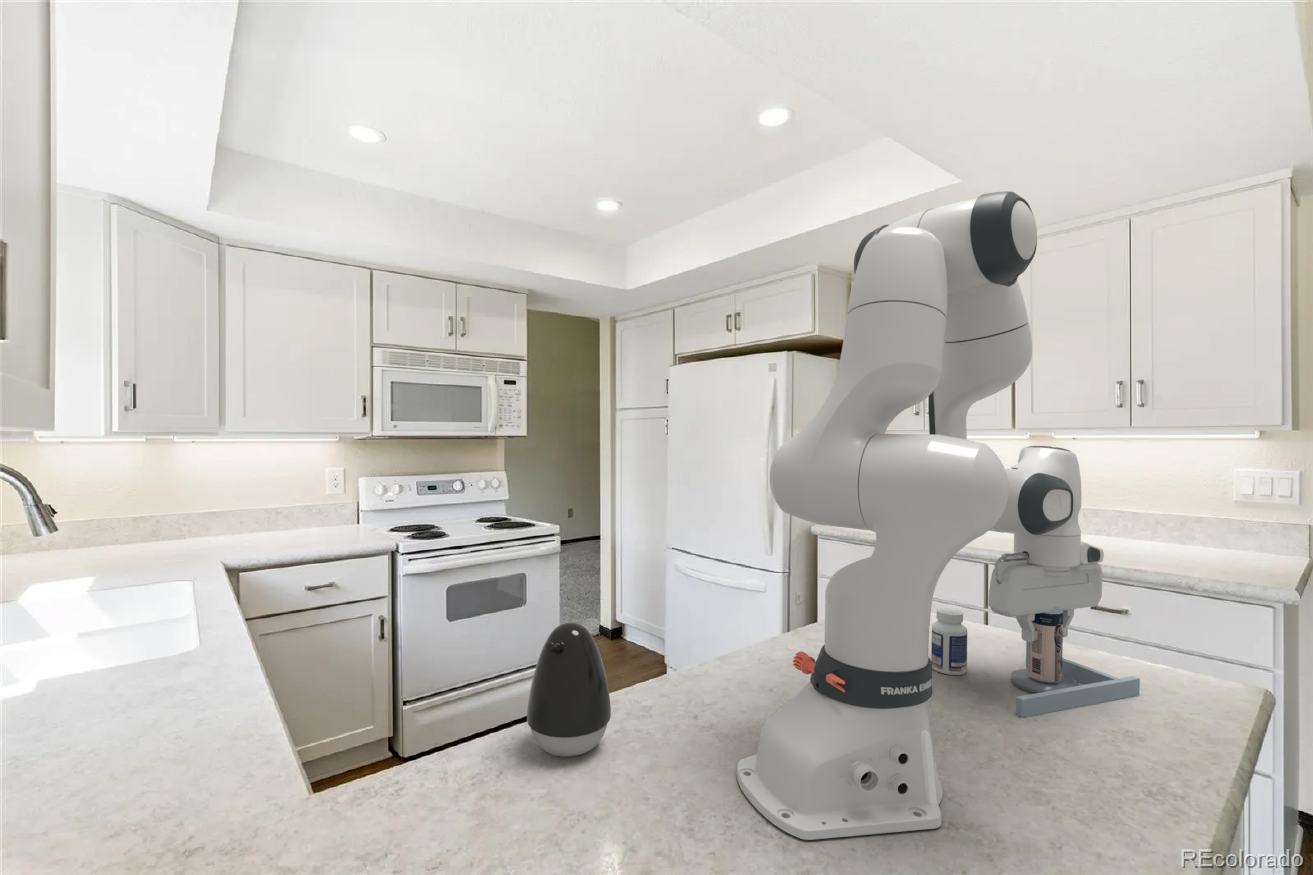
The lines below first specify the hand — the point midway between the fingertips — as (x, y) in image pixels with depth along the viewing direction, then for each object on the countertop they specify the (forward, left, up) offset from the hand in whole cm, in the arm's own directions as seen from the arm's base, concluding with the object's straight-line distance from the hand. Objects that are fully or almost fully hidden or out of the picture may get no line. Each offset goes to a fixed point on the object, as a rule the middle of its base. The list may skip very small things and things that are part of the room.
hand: (1044, 638), depth 97 cm
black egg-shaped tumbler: (-74, +5, -8) cm, 75 cm away
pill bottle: (-9, +10, -8) cm, 16 cm away
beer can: (0, 0, -7) cm, 7 cm away
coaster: (0, 0, -7) cm, 7 cm away
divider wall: (-1, 0, -7) cm, 8 cm away
